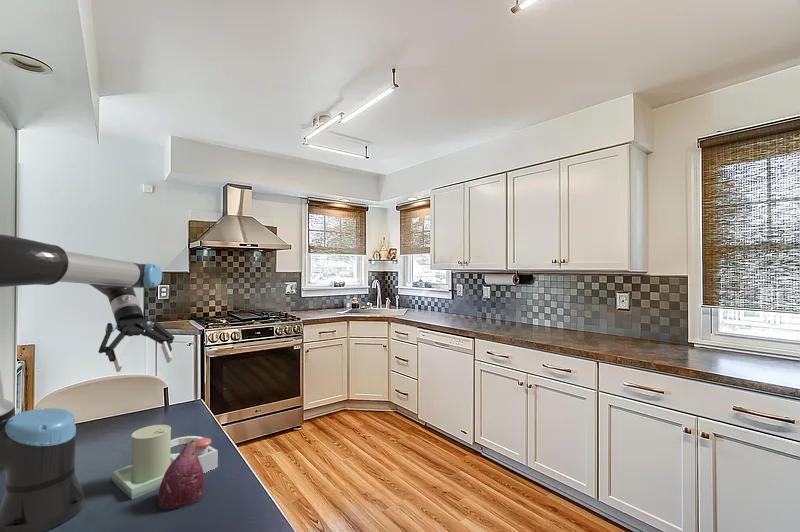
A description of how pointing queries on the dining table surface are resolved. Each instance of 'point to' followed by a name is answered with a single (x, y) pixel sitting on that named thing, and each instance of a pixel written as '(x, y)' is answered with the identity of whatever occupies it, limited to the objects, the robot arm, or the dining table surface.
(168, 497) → the vegetable
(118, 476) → the tray
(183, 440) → the socket ring
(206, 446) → the button
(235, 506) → the dining table surface
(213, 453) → the button post
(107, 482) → the dining table surface
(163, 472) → the can
